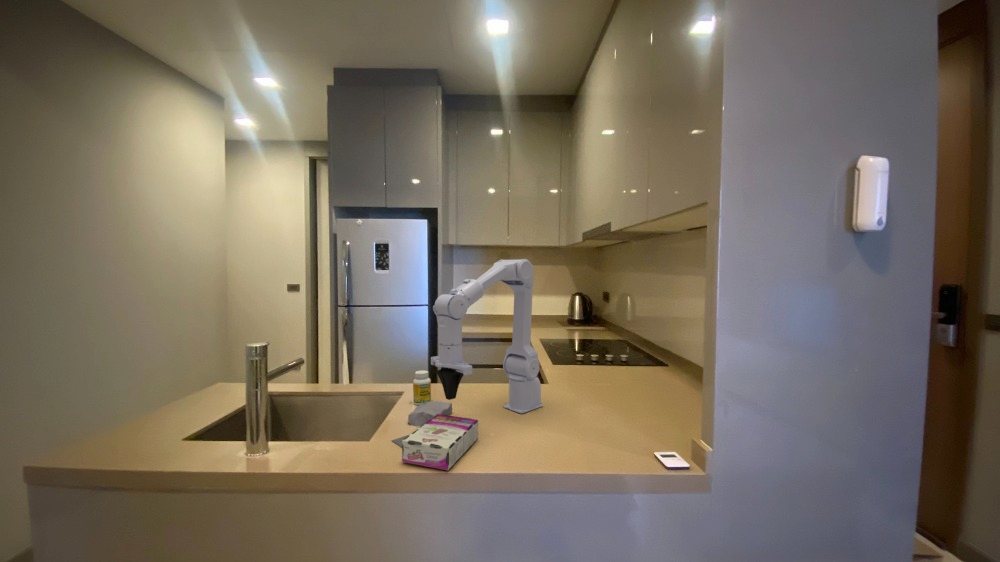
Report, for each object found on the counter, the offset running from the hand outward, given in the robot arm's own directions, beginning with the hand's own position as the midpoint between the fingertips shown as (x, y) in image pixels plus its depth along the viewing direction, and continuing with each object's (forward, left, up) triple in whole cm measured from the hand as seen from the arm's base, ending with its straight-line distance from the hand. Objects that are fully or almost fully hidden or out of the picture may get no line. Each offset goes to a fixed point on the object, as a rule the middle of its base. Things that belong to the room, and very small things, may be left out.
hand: (450, 398), depth 98 cm
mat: (+6, -1, -9) cm, 11 cm away
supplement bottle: (-8, -26, -10) cm, 29 cm away
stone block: (-3, -14, -10) cm, 17 cm away
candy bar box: (-1, +1, -7) cm, 7 cm away
